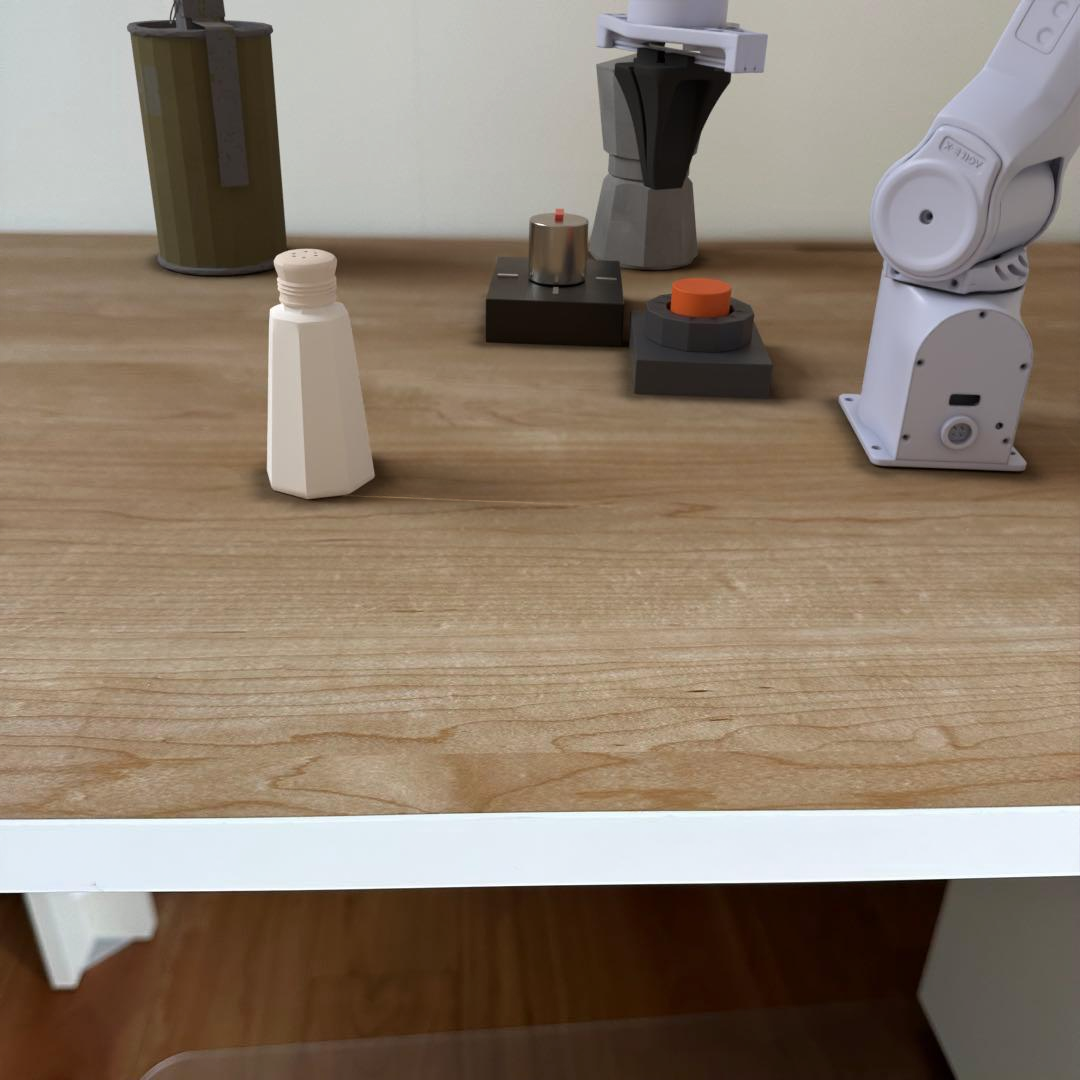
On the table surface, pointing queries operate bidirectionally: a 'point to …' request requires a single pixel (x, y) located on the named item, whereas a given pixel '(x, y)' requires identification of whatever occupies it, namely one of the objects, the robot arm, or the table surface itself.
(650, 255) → the coffeepot
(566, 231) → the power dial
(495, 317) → the dial panel
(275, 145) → the canister
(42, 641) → the table surface
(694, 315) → the power button
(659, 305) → the switch block
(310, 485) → the pepper shaker
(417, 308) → the table surface
